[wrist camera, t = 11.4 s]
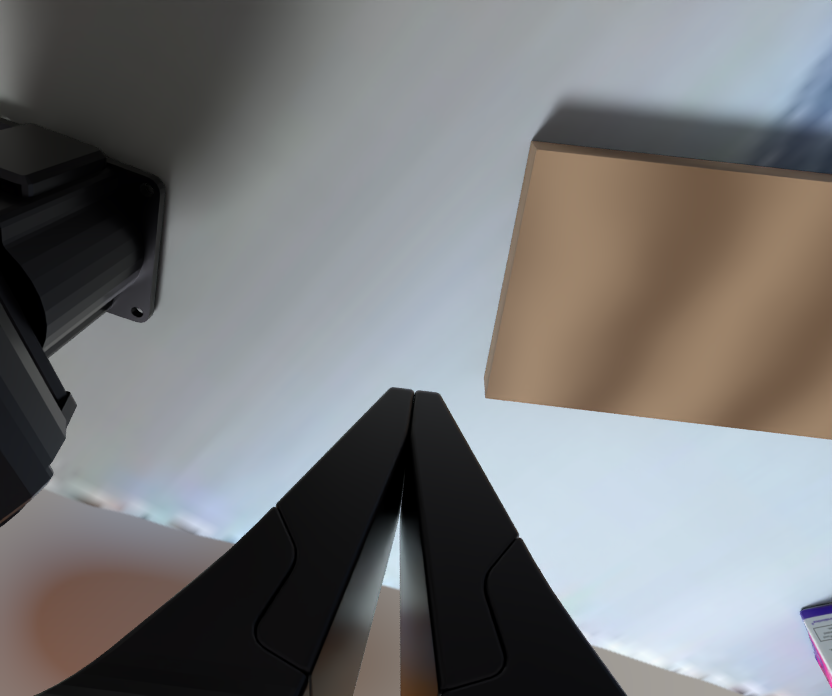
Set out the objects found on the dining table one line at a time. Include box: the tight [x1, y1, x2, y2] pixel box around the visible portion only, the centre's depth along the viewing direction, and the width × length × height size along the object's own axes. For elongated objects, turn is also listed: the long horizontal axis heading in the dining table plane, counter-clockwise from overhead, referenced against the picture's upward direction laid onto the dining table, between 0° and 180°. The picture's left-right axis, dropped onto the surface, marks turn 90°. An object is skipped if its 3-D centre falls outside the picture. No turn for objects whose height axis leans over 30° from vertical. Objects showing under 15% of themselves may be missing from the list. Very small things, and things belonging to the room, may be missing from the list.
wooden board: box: [484, 141, 832, 440], centre depth 19 cm, size 22×10×2 cm, turn 85°
